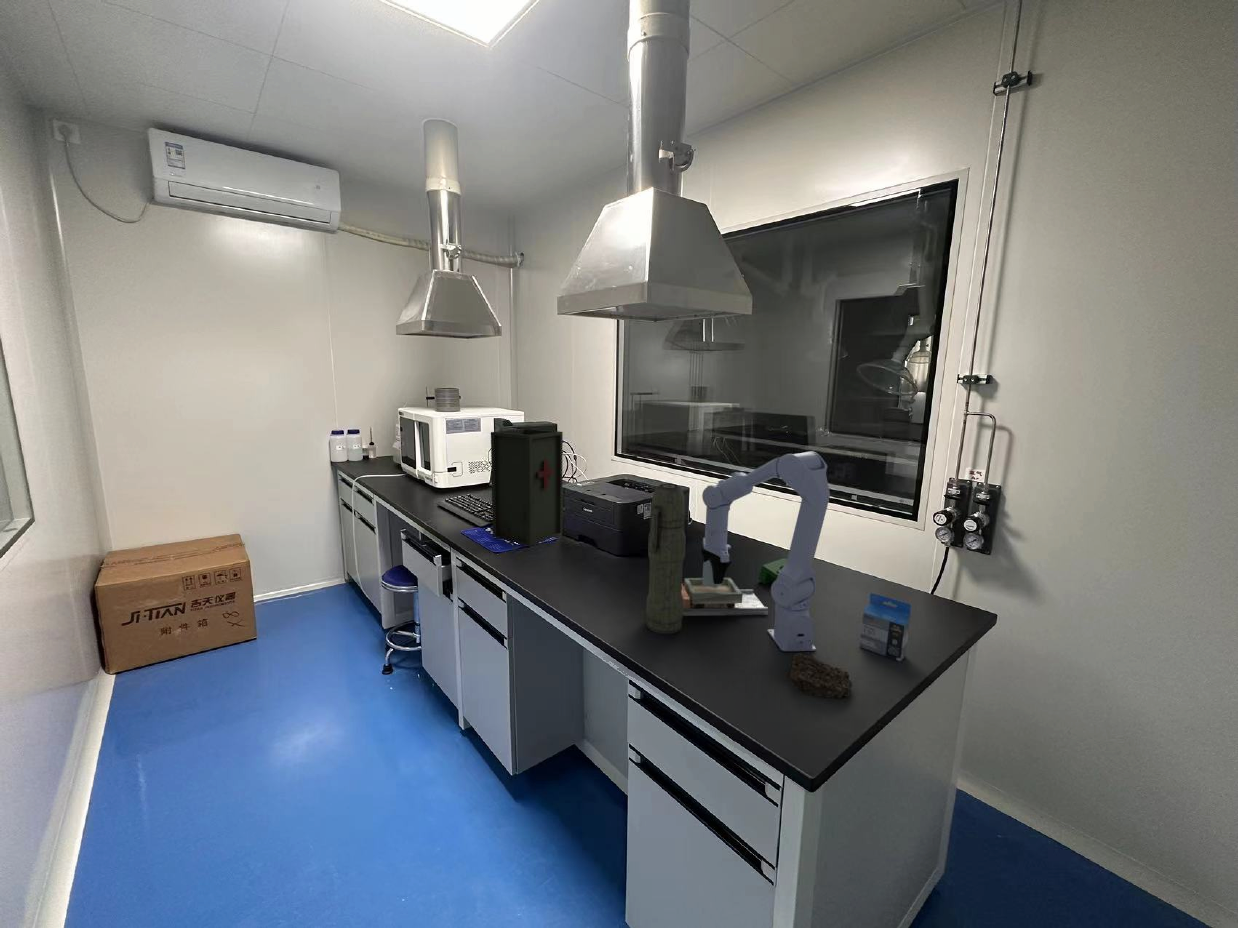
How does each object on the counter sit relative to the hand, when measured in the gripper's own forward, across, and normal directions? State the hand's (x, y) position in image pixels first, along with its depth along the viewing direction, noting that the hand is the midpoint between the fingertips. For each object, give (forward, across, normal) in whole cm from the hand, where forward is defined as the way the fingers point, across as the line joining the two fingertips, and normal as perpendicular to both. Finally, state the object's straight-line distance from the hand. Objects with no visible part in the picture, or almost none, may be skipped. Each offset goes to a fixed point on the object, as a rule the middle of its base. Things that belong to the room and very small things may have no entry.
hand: (713, 578), depth 136 cm
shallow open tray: (+6, 0, 0) cm, 6 cm away
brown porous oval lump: (+8, -39, -8) cm, 40 cm away
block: (+1, 0, 0) cm, 1 cm away
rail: (+7, 0, -2) cm, 8 cm away
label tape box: (+8, -28, -30) cm, 42 cm away
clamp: (+8, +13, -26) cm, 30 cm away
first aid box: (+8, +67, +49) cm, 84 cm away
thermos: (+8, -10, +16) cm, 20 cm away
